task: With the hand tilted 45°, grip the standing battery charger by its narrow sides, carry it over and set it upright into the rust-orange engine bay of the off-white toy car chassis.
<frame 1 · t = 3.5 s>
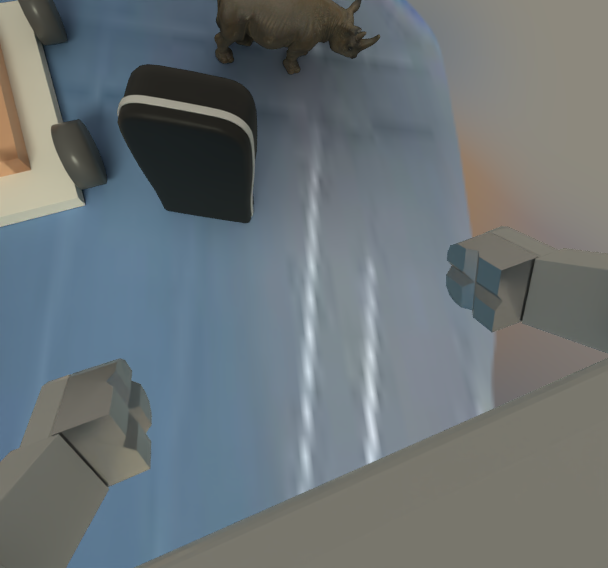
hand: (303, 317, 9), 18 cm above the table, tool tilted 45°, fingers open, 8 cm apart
rhino figurine: (294, 61, 33), on the table
battery charger: (212, 198, 29), on the table
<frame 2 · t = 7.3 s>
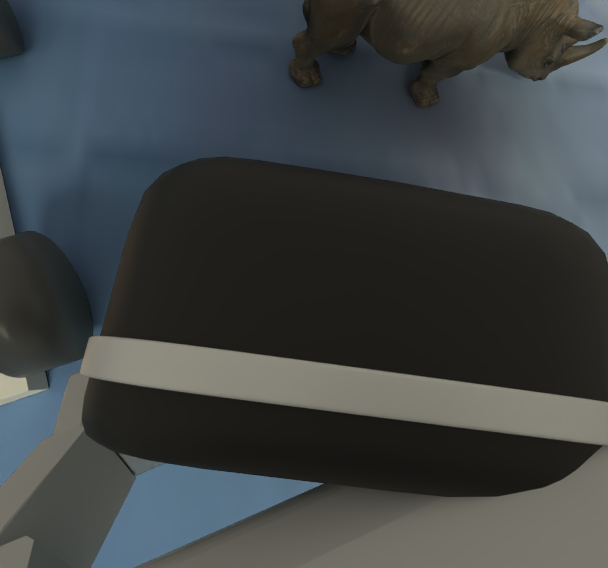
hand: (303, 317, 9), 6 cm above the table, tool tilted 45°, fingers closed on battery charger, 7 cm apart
rhino figurine: (424, 83, 19), on the table
battery charger: (298, 356, 15), on the table, touching gripper
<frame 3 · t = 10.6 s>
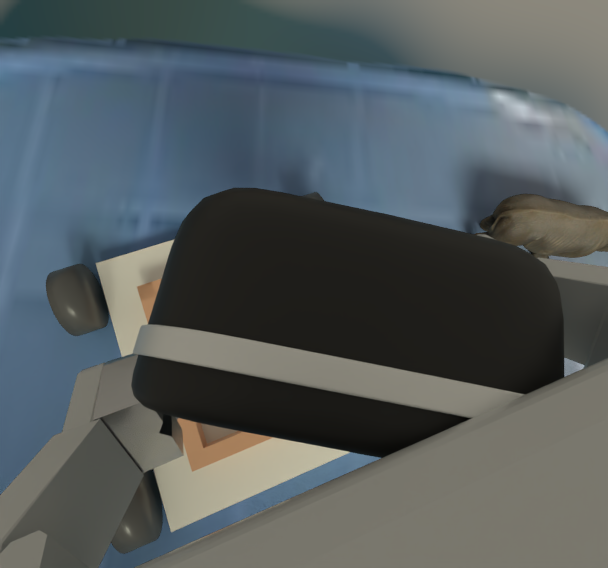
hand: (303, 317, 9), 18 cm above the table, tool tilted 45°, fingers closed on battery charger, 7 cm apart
rhino figurine: (537, 246, 31), on the table
battery charger: (301, 357, 16), point 11 cm above the table, touching gripper
chassis: (235, 351, 26), on the table
when the fingers open (9 cm above the table, at t = 13.3 s): battery charger stays where it is, resting on chassis.
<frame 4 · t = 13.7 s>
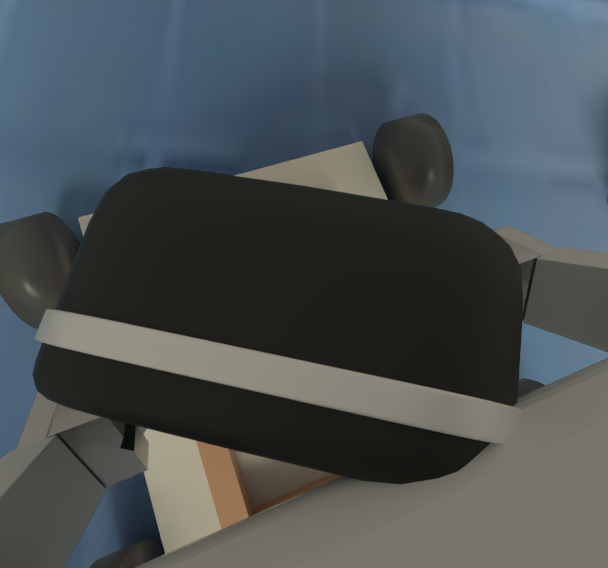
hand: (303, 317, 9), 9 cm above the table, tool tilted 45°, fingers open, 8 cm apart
battery charger: (313, 356, 15), point 2 cm above the table, touching chassis, gripper
chassis: (290, 357, 17), on the table
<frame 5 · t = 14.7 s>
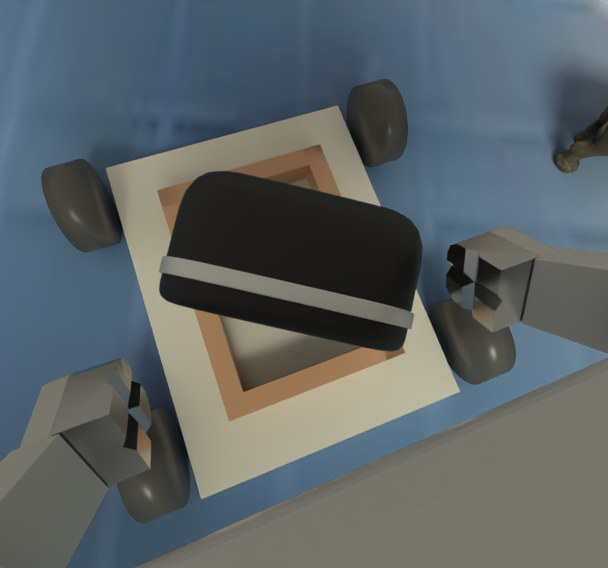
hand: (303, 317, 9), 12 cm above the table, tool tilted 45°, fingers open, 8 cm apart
battery charger: (291, 281, 20), point 1 cm above the table, touching chassis
chassis: (278, 281, 21), on the table
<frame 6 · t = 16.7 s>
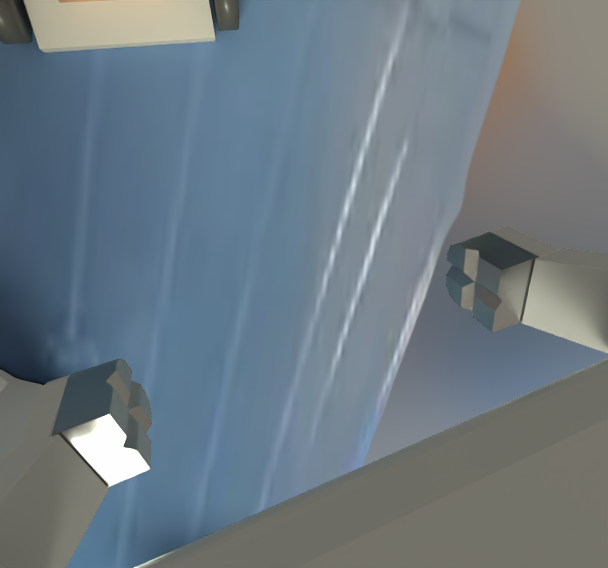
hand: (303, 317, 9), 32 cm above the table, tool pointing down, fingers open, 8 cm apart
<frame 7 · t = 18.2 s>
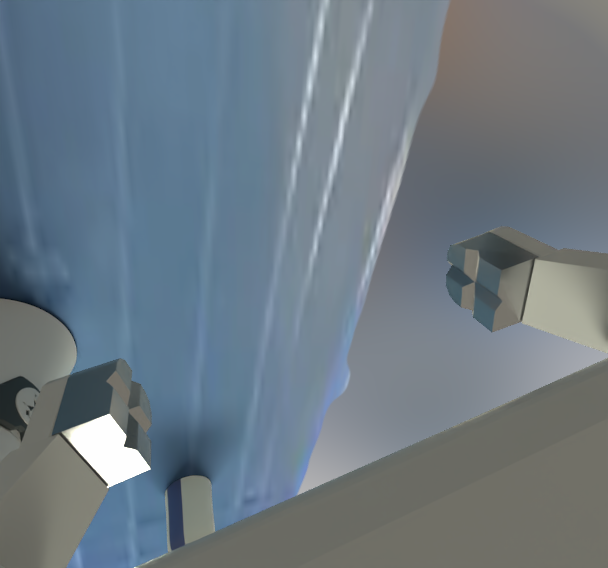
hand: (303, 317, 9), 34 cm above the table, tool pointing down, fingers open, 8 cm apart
water bottle: (188, 489, 64), on the table
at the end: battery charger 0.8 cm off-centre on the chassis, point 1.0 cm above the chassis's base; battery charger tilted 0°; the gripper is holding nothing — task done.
